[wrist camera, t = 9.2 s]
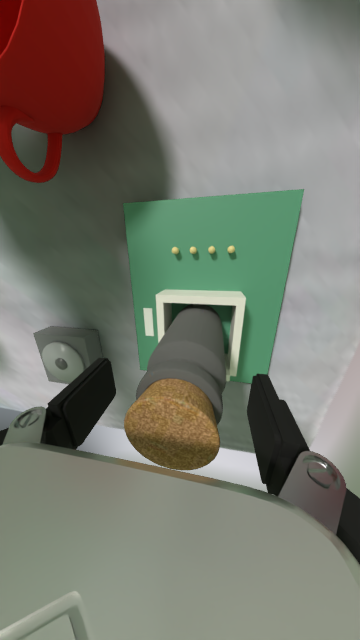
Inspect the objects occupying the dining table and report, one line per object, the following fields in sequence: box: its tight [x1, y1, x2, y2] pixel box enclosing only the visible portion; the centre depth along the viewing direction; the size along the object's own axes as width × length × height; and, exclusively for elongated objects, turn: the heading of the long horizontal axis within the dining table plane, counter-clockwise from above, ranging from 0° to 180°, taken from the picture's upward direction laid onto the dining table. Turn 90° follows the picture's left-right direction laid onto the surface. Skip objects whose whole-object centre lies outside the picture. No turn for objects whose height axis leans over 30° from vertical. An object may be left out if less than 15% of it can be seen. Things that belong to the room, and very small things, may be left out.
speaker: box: [33, 326, 103, 384], centre depth 28 cm, size 9×9×4 cm
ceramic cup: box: [0, 0, 105, 183], centre depth 14 cm, size 13×17×10 cm
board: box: [123, 189, 304, 383], centre depth 19 cm, size 22×18×6 cm
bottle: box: [124, 304, 226, 470], centre depth 15 cm, size 6×6×15 cm
